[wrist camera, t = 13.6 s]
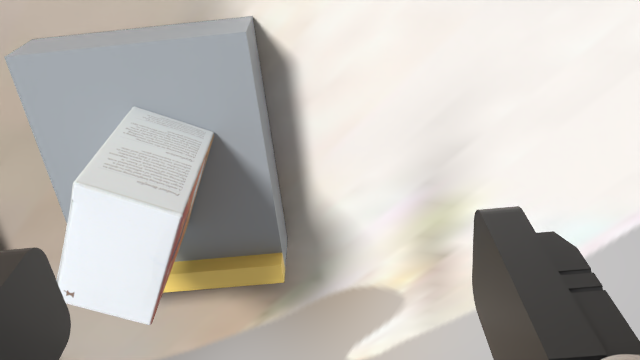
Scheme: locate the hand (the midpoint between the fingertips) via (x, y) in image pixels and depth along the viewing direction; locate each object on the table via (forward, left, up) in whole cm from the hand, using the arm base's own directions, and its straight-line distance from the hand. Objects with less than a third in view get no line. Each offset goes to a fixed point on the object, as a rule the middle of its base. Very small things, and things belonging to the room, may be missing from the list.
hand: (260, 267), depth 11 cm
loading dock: (+11, -11, -30) cm, 34 cm away
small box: (+11, -11, -26) cm, 30 cm away
